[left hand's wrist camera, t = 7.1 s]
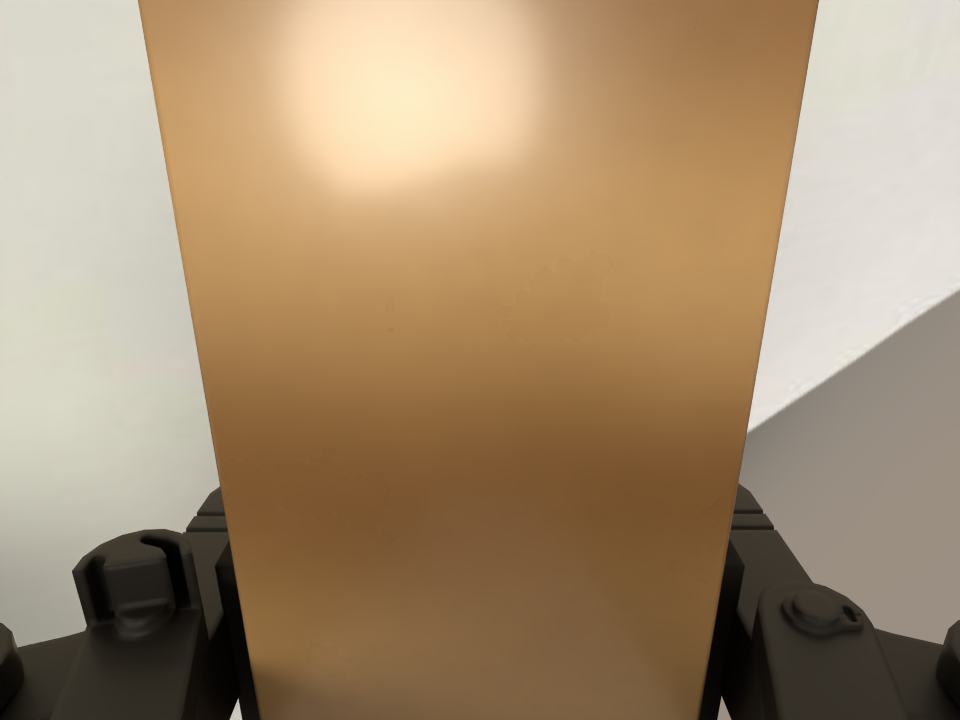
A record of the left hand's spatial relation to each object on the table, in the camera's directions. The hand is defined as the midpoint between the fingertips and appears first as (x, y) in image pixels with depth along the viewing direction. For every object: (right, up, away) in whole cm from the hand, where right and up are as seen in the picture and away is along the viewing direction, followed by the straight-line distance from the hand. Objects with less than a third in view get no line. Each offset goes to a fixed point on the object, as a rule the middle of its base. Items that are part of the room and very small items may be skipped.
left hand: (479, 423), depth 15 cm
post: (0, +24, -9) cm, 26 cm away
